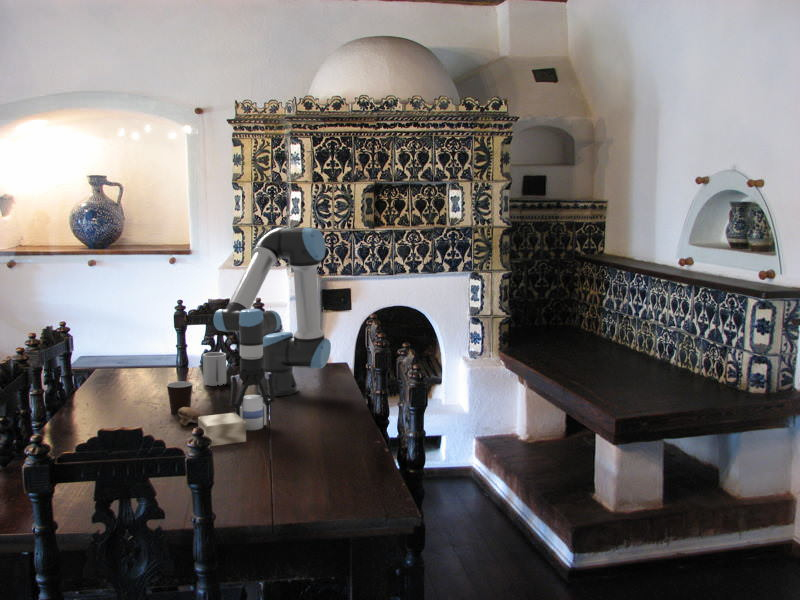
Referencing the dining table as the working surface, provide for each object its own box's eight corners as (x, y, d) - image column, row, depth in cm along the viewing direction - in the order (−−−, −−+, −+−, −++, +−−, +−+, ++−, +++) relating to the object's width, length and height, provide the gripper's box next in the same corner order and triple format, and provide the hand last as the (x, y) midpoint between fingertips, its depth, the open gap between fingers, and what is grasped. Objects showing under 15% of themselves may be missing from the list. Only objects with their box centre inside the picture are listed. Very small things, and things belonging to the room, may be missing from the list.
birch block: (236, 430, 243) (235, 412, 242) (246, 441, 232) (245, 421, 231) (198, 435, 237) (198, 416, 236) (206, 446, 227) (206, 426, 226)
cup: (216, 379, 313) (215, 351, 312) (231, 382, 308) (230, 354, 306) (198, 383, 306) (198, 354, 304) (213, 386, 301) (213, 357, 299)
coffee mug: (186, 416, 259) (185, 387, 257) (163, 414, 260) (162, 386, 259) (201, 407, 270) (200, 380, 269) (179, 406, 272) (178, 378, 270)
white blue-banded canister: (260, 422, 252) (259, 393, 251) (266, 428, 246) (266, 398, 244) (238, 425, 249) (238, 396, 247) (244, 431, 242) (244, 401, 241)
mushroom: (175, 419, 243) (183, 402, 246) (170, 422, 250) (179, 405, 253) (197, 429, 245) (205, 412, 248) (193, 432, 252) (201, 415, 255)
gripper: (277, 352, 252) (278, 418, 255) (218, 357, 243) (219, 425, 246) (284, 356, 245) (285, 424, 248) (223, 361, 236) (224, 432, 239)
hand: (252, 425), depth 247 cm, fingers closed on white blue-banded canister, 7 cm apart
